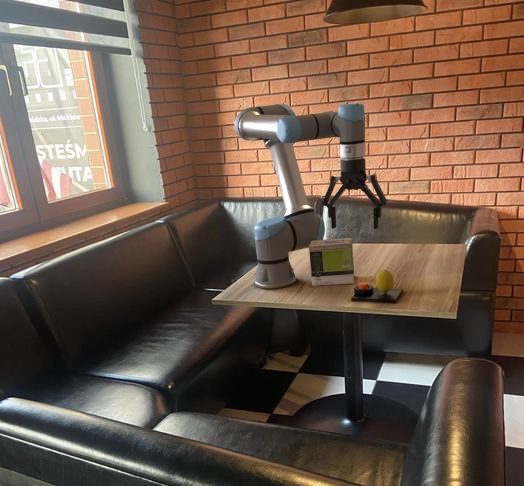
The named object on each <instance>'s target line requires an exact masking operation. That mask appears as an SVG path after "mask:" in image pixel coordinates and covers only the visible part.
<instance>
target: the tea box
mask: <svg viewBox="0 0 524 486" xmlns="http://www.w3.org/2000/svg"><path fill="white" fill-rule="evenodd" d="M308 254H309V264H310V265H309V267H310V276H311V277H310V278H311V285H312V286H313V287H314V286H316V287H317V286H332V285H349V284H350V285H351V284H352V285H353V284H354V283H355V264H354V261H355V260H354V247H353V238H352V237H341V238H328V239H323V240H314V241H311V243H310V245H309V248H308Z"/></svg>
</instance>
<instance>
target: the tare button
mask: <svg viewBox="0 0 524 486" xmlns="http://www.w3.org/2000/svg"><path fill="white" fill-rule="evenodd" d="M357 285H358V288H359V289H368V285H369V282H368V281H360V282H358V283H357Z"/></svg>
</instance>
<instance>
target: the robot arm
mask: <svg viewBox="0 0 524 486" xmlns="http://www.w3.org/2000/svg"><path fill="white" fill-rule="evenodd" d="M365 114H366V113H365V105H364V103H362V102H352V103H342V104H339V106H338V111H332V110H329V111H323V112H318V113H310V114H309V113H308V114H299V115H298V114H297V115H296V112H295V111H294V109H293V108H292V107H291V106H290V105H288V104H285V103H283V104H282V103H274V104H268V105H259V106H251V107H246V108H245V109H243V110H241V111H240V112H239V113H238V114H236V117H235V120H234V124H233V125H234V126H233V127H234V130H235V132H236V134H237V136H238V137H239V138H240V139H242V140H245V141H250V142H255V141H263V145H264V148H266V149H268V150H269V151H270V155H271V156H270V157H271V159H272V163H273V168H274V170H275V174H276V178H277V181H278V185H279V189H280V193H281V197H282V200H283V205H284V208H285V213H284V215H283V216H275V217H270V218H267V219H263V220H261V221H259V222H257V223H256V224H255V226H254V232H253V233H254V234H253V235H254V236H253V238H254V242H255V251H256V259H257V261H256V262H257V267H256V272H255V277H254V285H255V287H257V288H259V289H268V290H270V289H271V290H273V289H281V288H286V287H290V286H291V285H293V284H295V283H296V282H297V278H296V277H297V276H296V273H295V270H294V268H293V267H292V264H291V262H290V254H289V253H291V252H295V251H300V250H305V249H309V245H310V243H311V241H314V240H324V239H325V238H324V237H325V234H326V225H325V220H324V218H323V217H322V215H320V214H319V213H316V212H315V208H314V207H312V206H310V205H309V201H308V197H307V194H306V190H305V186H304V183H303V179H302V175H301V172H300V167H299V164H298V159H297V156H296V151H295V148H294V145H293V144H295V143H302V142H307V141H316V140H324V139H331V138H338V139H339V157H340V160H339V165H340V166H339V167H340V175H336V174H333V175H331V176H330V181H329V185H328V187H327V190H326V192H325V195H324V197H323V200H322V202H321V206H323V207H326V208H327V217H328V218H329V219H330V223H331V225H330V226H331V230H332V229H334V230H335V229H336V228H337V210H336V206H334V205H335V204H336V202H337V201H338V200H339V198H340V197H341V196H342V195H343V194H344V192H345V190H347V191H352V190H353V191H359V190H360V191H361V192H363V193H364V195H365V196H366V197H367V198H368V200H370V201H371V202H372V204H373V205H374V207H373V229H374V230H377V229H378V228H379V219H380V218H381V217H382V207H383V206H386V205H387V204H388V199H387V197H386V195H385V193H384V191H383V190H382V188H381V185H380V184H379V181H378V177H377V176H378V175H377V174H376V173H372V174H367V169H366V168H367V167H366V166H367V165H366V115H365ZM367 180H368V182H369V183H371V185H372V187H373V189H374V191H375V193H376V195H377V196H376V195H375V194H374V193H373V191H372V190H371V189H370V188H369V186H368V185H367V184H366V182H367ZM338 182H340V183H341V186H340V187H339V188H338V190H337V192H336V193H335V194H334V196H333V197H331V196H332V194H333V192H334V189H335V187H336V185H337V183H338ZM330 198H331V200H330Z"/></svg>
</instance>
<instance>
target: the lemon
mask: <svg viewBox="0 0 524 486" xmlns="http://www.w3.org/2000/svg"><path fill="white" fill-rule="evenodd" d="M394 282H395V280H394V276H393V274H392V272H391V271H389V270H387V269H383V270H381V271H379V272H378V273H377V275H376V277H375V285H376V288H378V289H379V290H380V291H381V292H383V293H384V294H386V293H387V292H388V291H390V290H391V289H392V288H393V287H394V284H395V283H394ZM393 289H394V288H393Z"/></svg>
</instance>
